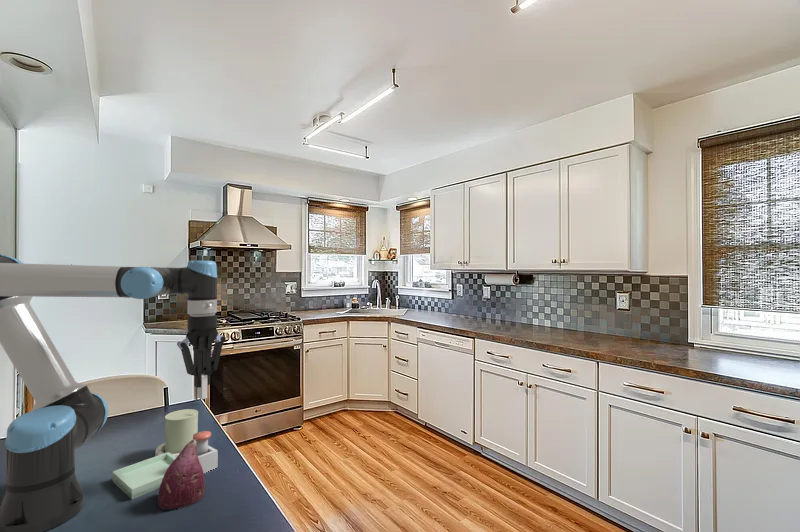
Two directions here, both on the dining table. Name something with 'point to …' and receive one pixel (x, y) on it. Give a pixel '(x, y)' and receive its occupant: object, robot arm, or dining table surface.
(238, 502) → the dining table surface
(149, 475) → the tray
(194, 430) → the can
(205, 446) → the button
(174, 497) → the vegetable
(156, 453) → the socket ring
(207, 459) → the button post
